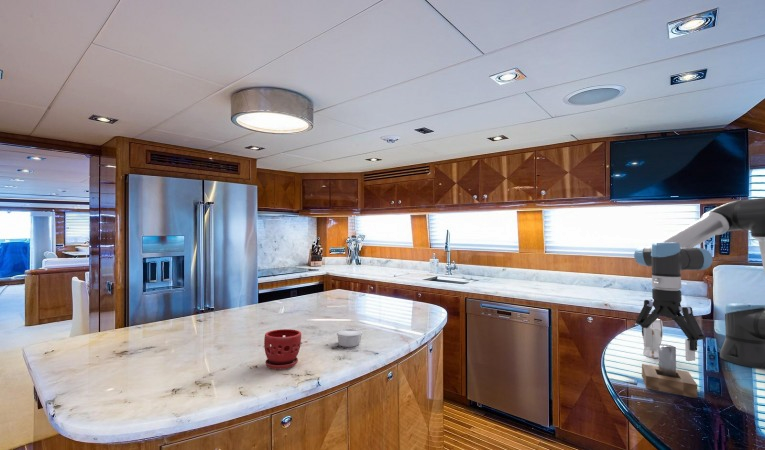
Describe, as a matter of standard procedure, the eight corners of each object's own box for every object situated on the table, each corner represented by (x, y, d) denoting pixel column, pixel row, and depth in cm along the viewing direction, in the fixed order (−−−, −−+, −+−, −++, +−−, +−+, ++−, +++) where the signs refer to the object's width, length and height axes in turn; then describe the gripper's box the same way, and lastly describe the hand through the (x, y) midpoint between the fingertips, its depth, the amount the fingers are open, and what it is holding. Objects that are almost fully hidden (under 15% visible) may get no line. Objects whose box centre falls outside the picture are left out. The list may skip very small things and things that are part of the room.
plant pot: (299, 371, 122) (300, 336, 123) (260, 372, 120) (261, 338, 121) (301, 358, 135) (302, 327, 136) (267, 359, 133) (267, 328, 133)
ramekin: (358, 339, 161) (358, 327, 161) (364, 346, 150) (365, 334, 150) (334, 341, 157) (334, 329, 157) (339, 349, 147) (339, 336, 147)
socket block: (688, 383, 116) (688, 371, 116) (697, 398, 105) (697, 385, 105) (642, 375, 122) (641, 363, 122) (646, 388, 112) (645, 375, 112)
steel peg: (674, 385, 114) (674, 345, 115) (677, 390, 111) (676, 349, 111) (658, 382, 117) (657, 343, 117) (660, 386, 113) (659, 346, 113)
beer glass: (667, 359, 139) (666, 321, 139) (647, 358, 140) (647, 320, 140) (657, 353, 145) (656, 317, 146) (638, 352, 147) (638, 317, 147)
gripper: (623, 283, 126) (624, 342, 125) (699, 295, 102) (701, 368, 101) (639, 283, 128) (641, 340, 127) (718, 294, 103) (721, 366, 103)
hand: (668, 353), depth 114 cm, fingers open, 13 cm apart
